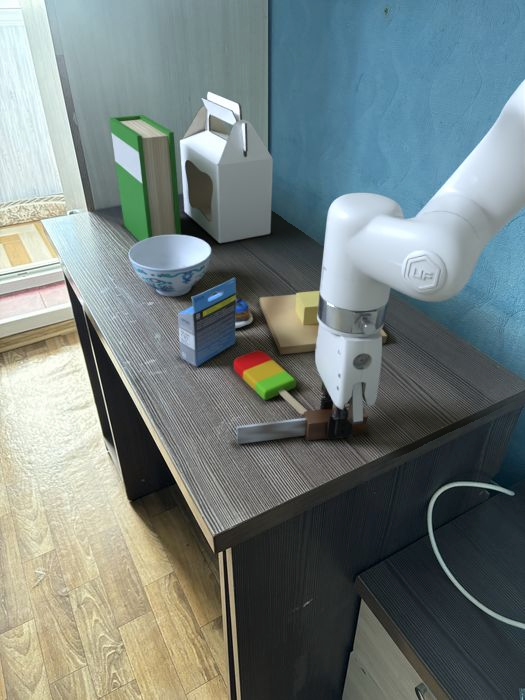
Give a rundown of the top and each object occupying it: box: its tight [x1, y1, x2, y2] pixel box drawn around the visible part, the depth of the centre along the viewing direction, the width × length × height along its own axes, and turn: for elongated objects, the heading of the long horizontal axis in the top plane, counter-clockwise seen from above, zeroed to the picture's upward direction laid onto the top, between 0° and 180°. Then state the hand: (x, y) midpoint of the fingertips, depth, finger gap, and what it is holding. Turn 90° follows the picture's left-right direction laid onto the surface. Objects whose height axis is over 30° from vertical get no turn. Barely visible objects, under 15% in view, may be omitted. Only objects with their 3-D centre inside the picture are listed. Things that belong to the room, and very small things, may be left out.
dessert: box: [235, 297, 254, 329], centre depth 90 cm, size 8×7×6 cm
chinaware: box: [128, 234, 212, 297], centre depth 97 cm, size 15×15×8 cm
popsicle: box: [233, 350, 308, 416], centre depth 75 cm, size 6×15×2 cm, turn 34°
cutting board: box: [259, 293, 388, 356], centre depth 90 cm, size 18×16×2 cm
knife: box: [236, 405, 369, 445], centre depth 67 cm, size 17×2×3 cm, turn 102°
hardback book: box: [108, 114, 182, 242], centre depth 113 cm, size 18×7×24 cm, turn 30°
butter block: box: [295, 290, 320, 325], centre depth 88 cm, size 7×5×4 cm
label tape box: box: [177, 277, 237, 367], centre depth 79 cm, size 9×4×12 cm, turn 139°
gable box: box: [179, 91, 274, 244], centre depth 119 cm, size 22×13×28 cm, turn 28°
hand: (334, 427), depth 68 cm, fingers closed on knife, 2 cm apart
